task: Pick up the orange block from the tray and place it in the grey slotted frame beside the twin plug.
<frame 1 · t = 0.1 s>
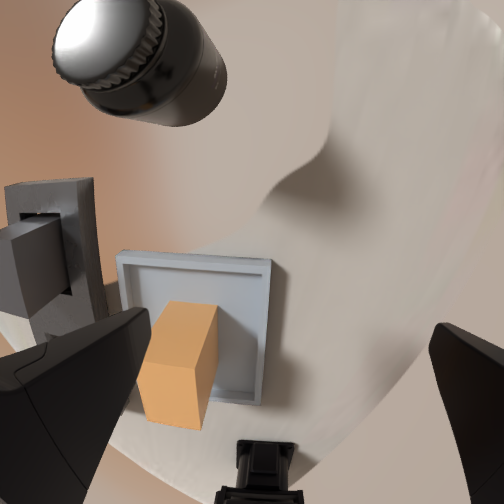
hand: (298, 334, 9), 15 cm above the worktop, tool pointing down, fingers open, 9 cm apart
supplement bottle: (182, 82, 20), on the worktop
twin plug: (60, 244, 25), resting in grey slotted frame
grey slotted frame: (70, 303, 27), on the worktop
orange block: (194, 333, 26), resting on tray
tray: (195, 331, 26), on the worktop
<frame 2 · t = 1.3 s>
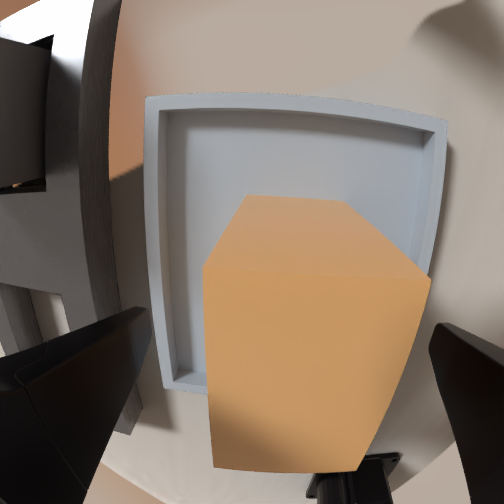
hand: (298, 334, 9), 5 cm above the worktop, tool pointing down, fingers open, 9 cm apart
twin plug: (41, 118, 12), resting in grey slotted frame
grey slotted frame: (45, 228, 14), on the worktop
orange block: (290, 266, 14), resting on tray
tray: (290, 263, 14), on the worktop
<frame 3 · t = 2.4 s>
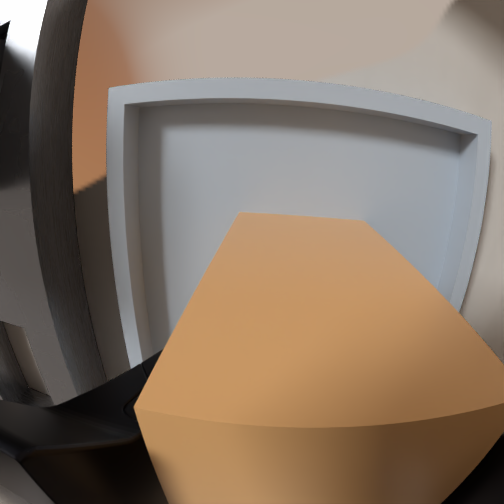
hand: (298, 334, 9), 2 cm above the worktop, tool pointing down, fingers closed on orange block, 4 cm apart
grey slotted frame: (10, 248, 11), on the worktop
orange block: (294, 301, 11), resting on tray, touching gripper
tray: (294, 296, 11), on the worktop
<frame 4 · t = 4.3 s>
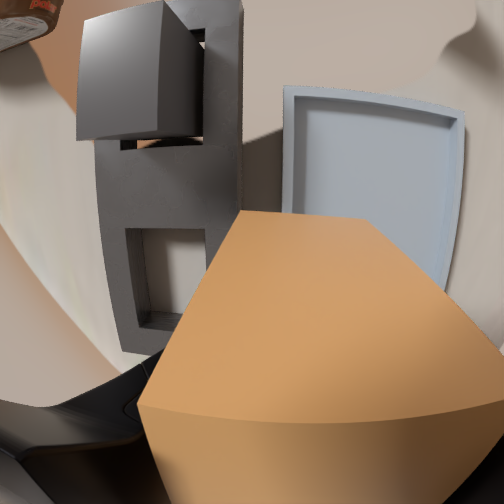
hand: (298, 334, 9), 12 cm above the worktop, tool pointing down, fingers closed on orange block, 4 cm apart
tin: (19, 37, 16), on the worktop
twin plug: (173, 94, 18), resting in grey slotted frame
grey slotted frame: (173, 183, 20), on the worktop
orange block: (296, 300, 11), point 10 cm above the worktop, touching gripper
tray: (372, 203, 19), on the worktop
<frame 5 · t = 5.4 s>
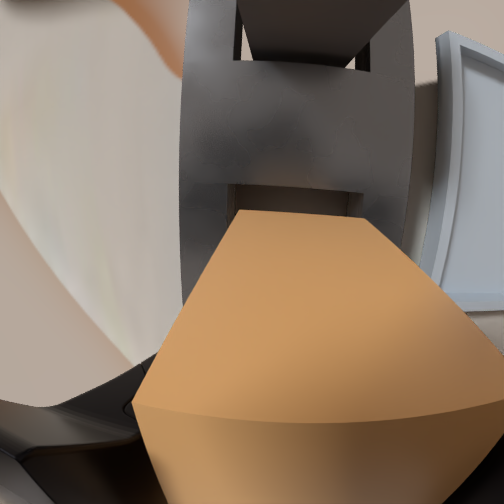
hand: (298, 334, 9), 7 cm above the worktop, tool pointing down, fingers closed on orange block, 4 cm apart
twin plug: (299, 11, 11), resting in grey slotted frame
grey slotted frame: (296, 127, 13), on the worktop
orange block: (295, 300, 11), point 5 cm above the worktop, touching gripper
when the fingers open (3 cm above the worktop, at t = 6.4 s): orange block drops 2 cm, resting in grey slotted frame.
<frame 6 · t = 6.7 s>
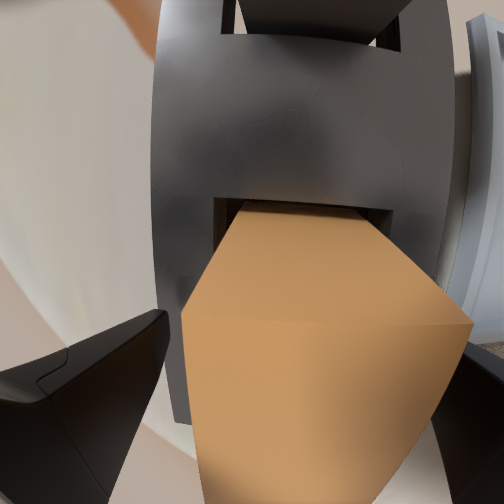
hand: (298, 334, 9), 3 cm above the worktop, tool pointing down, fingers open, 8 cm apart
grey slotted frame: (303, 123, 10), on the worktop
orange block: (293, 281, 12), resting in grey slotted frame
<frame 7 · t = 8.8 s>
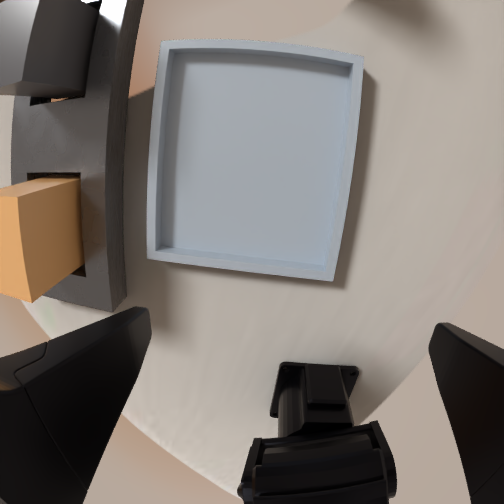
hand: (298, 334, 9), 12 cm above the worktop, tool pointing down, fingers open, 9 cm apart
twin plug: (82, 58, 17), resting in grey slotted frame
grey slotted frame: (73, 135, 19), on the worktop
orange block: (73, 214, 21), resting in grey slotted frame
tray: (250, 154, 19), on the worktop
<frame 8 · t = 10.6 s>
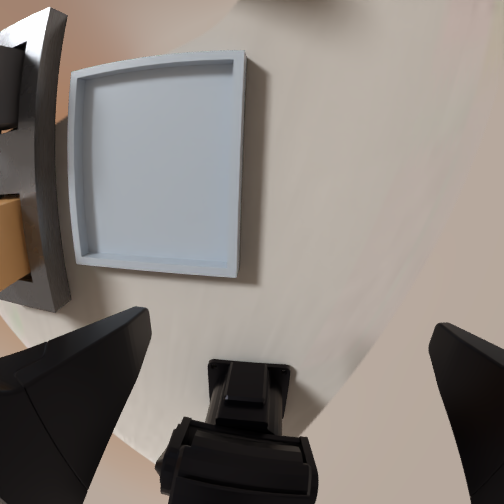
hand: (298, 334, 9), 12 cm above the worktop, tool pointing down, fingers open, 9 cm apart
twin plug: (21, 92, 18), resting in grey slotted frame
grey slotted frame: (18, 161, 20), on the worktop
orange block: (24, 228, 22), resting in grey slotted frame
tray: (151, 162, 19), on the worktop
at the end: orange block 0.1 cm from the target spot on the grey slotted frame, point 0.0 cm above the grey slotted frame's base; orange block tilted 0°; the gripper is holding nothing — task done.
